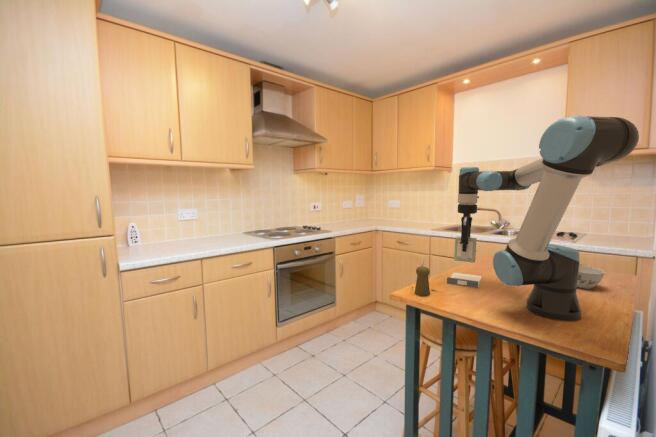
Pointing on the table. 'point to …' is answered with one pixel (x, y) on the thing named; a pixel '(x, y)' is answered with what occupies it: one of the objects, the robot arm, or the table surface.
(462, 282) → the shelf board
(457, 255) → the tea tin
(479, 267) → the table surface
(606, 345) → the table surface
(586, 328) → the table surface
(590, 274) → the teacup
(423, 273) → the olive tapered upright piece
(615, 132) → the robot arm
